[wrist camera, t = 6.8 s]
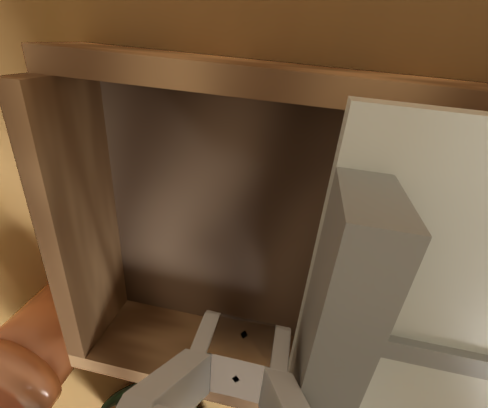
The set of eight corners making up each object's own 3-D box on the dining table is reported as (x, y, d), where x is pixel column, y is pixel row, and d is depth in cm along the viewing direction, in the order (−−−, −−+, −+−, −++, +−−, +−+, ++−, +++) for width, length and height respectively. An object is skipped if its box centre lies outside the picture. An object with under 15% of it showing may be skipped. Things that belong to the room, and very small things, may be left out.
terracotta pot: (103, 288, 22) (36, 366, 17) (112, 345, 24) (58, 428, 19) (27, 272, 23) (-59, 342, 17) (45, 329, 25) (-26, 405, 20)
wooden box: (516, 85, 12) (630, 111, 8) (391, 360, 20) (413, 452, 15) (82, 41, 14) (-17, 43, 10) (119, 301, 22) (71, 366, 18)
